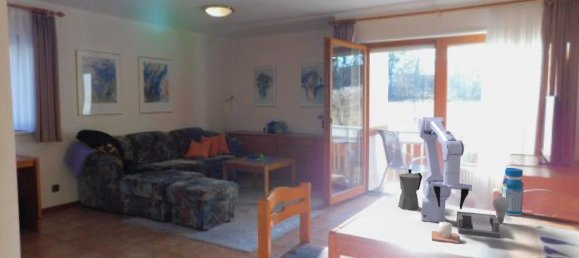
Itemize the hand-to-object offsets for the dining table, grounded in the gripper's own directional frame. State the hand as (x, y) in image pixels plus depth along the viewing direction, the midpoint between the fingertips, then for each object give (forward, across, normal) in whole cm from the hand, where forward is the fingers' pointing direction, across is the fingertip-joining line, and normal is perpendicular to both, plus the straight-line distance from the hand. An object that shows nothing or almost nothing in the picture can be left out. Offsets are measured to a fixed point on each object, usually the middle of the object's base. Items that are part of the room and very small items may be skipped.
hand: (449, 207), depth 155 cm
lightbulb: (+10, +20, +19) cm, 29 cm away
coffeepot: (+10, -16, +29) cm, 35 cm away
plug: (+9, -2, -9) cm, 12 cm away
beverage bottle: (+10, +27, +36) cm, 46 cm away
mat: (+9, -2, -9) cm, 13 cm away
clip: (+4, +10, -7) cm, 13 cm away
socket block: (+9, +10, +5) cm, 15 cm away
